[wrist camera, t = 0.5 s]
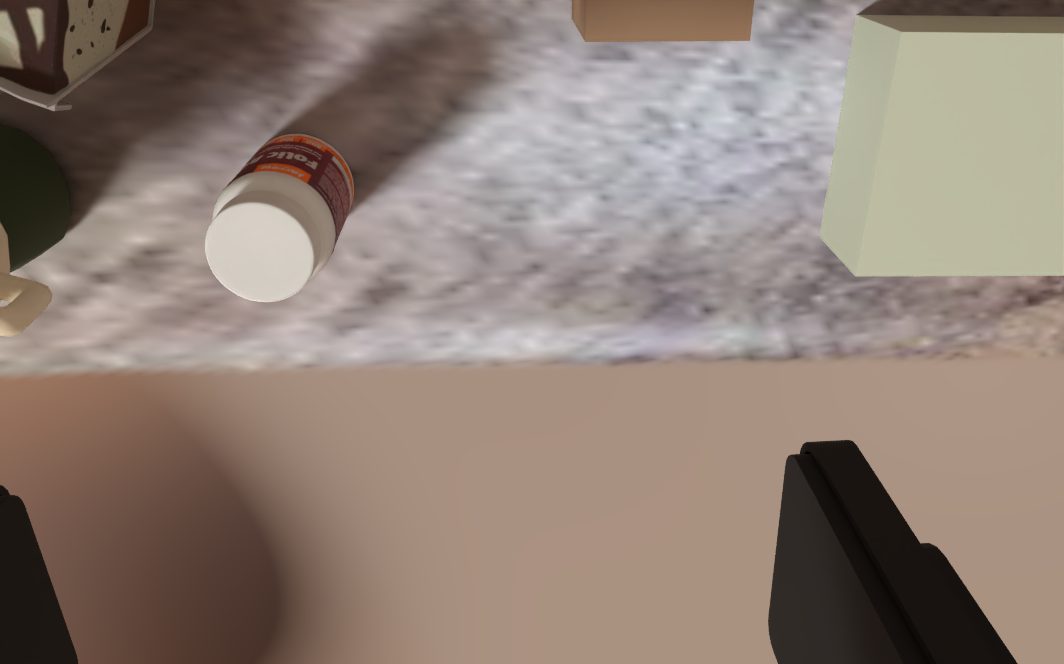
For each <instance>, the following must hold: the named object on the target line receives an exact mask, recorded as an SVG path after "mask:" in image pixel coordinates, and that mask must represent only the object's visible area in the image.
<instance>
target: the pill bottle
mask: <svg viewBox="0 0 1064 664" xmlns="http://www.w3.org/2000/svg"><path fill="white" fill-rule="evenodd" d="M353 198H354V182H353V177H352V174H351V171H350V169H349V166H348V164H347V163H346V161H345V160H344V158H343V157H342V156H341V154H340V153H339V152H338V151H337V150H336V149H335V148H333V147H332V146H331V145H329V144H328V143H326V142H325V141H323V140H321V139H319V138H316V137H313V136H310V135H305V134H287V135H283V136H279V137H276V138H274V139H272V140H270V141H269V142H267V143H266V144H264V145H263V146H262V147H261V148H260V149H259V150H258V151H257V152H256V154H255V155H254V156H253V157H252V158H251V159H250V160H249V161H248V162H247V164H246V165H245V166H244V167H243V168H242V170H241V171H240V172H239V173H238V174H237V176H236V177H235V178H234V179H233V180H232V181H231V182H230V183H229V184H228V185H227V187H226V188H225V189H224V190H223V191H222V193H221V194H220V196H219V198H218V200H217V201H216V204H215V207H214V212H213V217H212V222H211V224H210V226H209V228H208V231H207V234H206V240H205V252H206V257H207V261H208V263H209V266H210V268H211V270H212V272H213V273H214V275H215V276H216V278H217V279H218V280H219V281H220V282H221V283H222V284H223V285H224V286H225V287H226V288H227V289H229V290H230V291H232V292H233V293H235V294H237V295H239V296H241V297H243V298H245V299H248V300H252V301H258V302H274V301H280V300H284V299H286V298H289V297H291V296H292V295H294V294H296V293H297V292H298V291H300V290H301V289H302V288H303V287H304V286H305V285H306V283H307V282H308V281H309V279H310V278H312V277H313V276H315V275H316V274H317V273H318V272H319V271H320V270H321V269H322V268H323V267H324V266H325V264H326V263H327V262H328V260H329V258H330V256H331V255H332V253H333V251H334V247H335V244H336V242H337V240H338V237H339V235H340V232H341V230H342V228H343V225H344V223H345V221H346V218H347V216H348V214H349V211H350V209H351V206H352V203H353Z"/></svg>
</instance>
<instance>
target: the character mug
mask: <svg viewBox="0 0 1064 664" xmlns="http://www.w3.org/2000/svg"><path fill="white" fill-rule="evenodd" d="M70 217H71V208H70V201H69V194H68V187H67V183H66V181H65V179H64V177H63V176H62V174H61V172H60V171H59V169H58V167H57V165H56V164H55V162H54V160H53V158H52V157H51V155H50V153H49V152H48V151H46V150H45V149H44V148H42V147H41V146H40V145H39V144H37V143H36V142H35V141H34V140H32V139H31V138H30V137H29V136H27V135H26V134H25V133H24V132H22V131H21V130H19V129H15V128H12V127H8V126H5V125H1V124H0V301H1V300H4V301H8V302H11V303H10V304H8V305H7V306H5V307H0V336H14V335H17V334H19V333H21V332H22V331H23V330H24V329H25V328H26V327H27V326H28V325H29V324H31V323H32V322H33V321H34V320H35V319H36V318H37V317H38V316H39V315H40V314H41V313H42V312H43V311H44V310H45V309H46V307H47V306H48V304H49V303H50V302H51V299H52V293H51V291H50V289H49V287H48V286H46V285H44V284H41V283H39V282H36V281H32V280H28V279H24V278H20V277H16V276H12V275H10V272H12V271H14V270H16V269H18V268H20V267H22V266H23V265H25V264H27V263H28V262H30V261H31V260H33V259H35V258H36V257H38V256H40V255H41V254H43V253H44V252H45V251H47V250H48V249H49V248H51V247H52V246H53V245H55V244H56V243H57V242H59V241H60V240H62V239H63V238H64V235H65V232H66V229H67V226H68V223H69V220H70Z"/></svg>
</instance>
